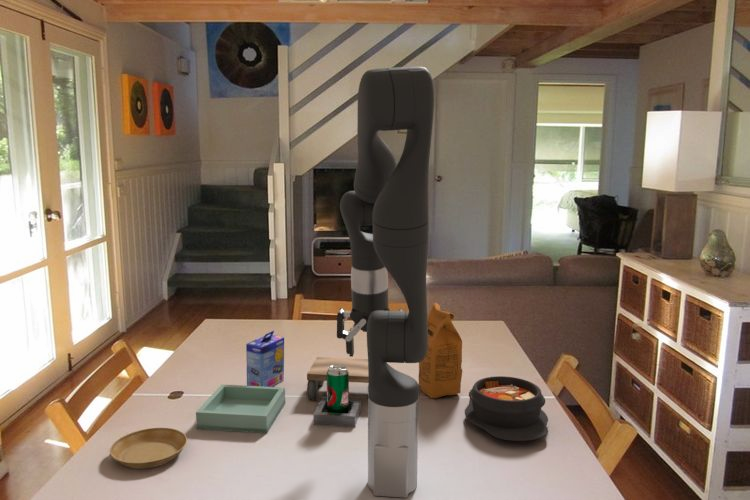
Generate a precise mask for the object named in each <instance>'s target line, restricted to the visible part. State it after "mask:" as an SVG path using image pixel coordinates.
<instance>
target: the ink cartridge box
mask: <svg viewBox="0 0 750 500" xmlns="http://www.w3.org/2000/svg"><path fill="white" fill-rule="evenodd" d="M274 332H275V330H272V331H270V332H268V333H265V335H263V336H261V337H260V338H257V339H253V340H252V341H249V342H247V343H246V344H245V346H246V351H245V352H246V359H245V360H246V386H263V387H275V386H276V385H278V384H280V383H282V382H284V380H285V337H284V336H280V335H276V334H274Z"/></svg>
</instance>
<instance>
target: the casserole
mask: <svg viewBox="0 0 750 500" xmlns="http://www.w3.org/2000/svg"><path fill="white" fill-rule="evenodd" d="M468 397H469V399H468V400H469V401H468V404H467V406H466V408H465V409H464V415H465V417H466V419H467V420H468V421H469V422H470V423H472V424H473V425H475V426H476V427H478V428H481V429H483V430H484V431H486V432H487V433H488V434H490V435H491V436H493V437H494V438H496V439H497V440H502V441H504V440H505V441H509V442H510V441H511V442H527V441H535V440H540V439H542V438H544V437H546V436H547V434H548V433H547V431H548V430H547V425H548V422H549V418H548V416H547V415H548V414H547V413H546V412H545V411H544V410H543V409H542V408H543V407H544V406H545V405H546V404H545V403H546V398H545V397H544V395H543V394H542V390H541V388H540V387H539V386H538V385H537V384H535V383H533V382H531V381H529V380H526V379H522V378H520V377H514V376H512V377H511V376H497V375H496V376H490V377H489V376H488V377H484V378H481V379H478V380H476V381H475V382H474V384H473V386H472V388H471V389H470V391H469V392H468Z"/></svg>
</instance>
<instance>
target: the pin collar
mask: <svg viewBox="0 0 750 500" xmlns="http://www.w3.org/2000/svg"><path fill="white" fill-rule="evenodd" d="M361 403H362V399H358V398H357V399H356V398H349V414H347V413H329V412H327V397H321V398H320V401H319V402H318V404H317V407H316V409H315V411H314V413H313V425H314V426H331V427H345V428H356V425H357V422H358V419H359V416H360V414H361V411H362V409H361V408H362V405H361Z"/></svg>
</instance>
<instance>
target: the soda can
mask: <svg viewBox="0 0 750 500" xmlns="http://www.w3.org/2000/svg"><path fill="white" fill-rule="evenodd" d="M349 384H350V382H349V371H348V370H347V367H346V366H344V365H332V366H329V367H328V371H327V381H326V398H327V410H326V412H329V413H347V414H350V411H349V399H350V396H349V395H350V393H349V392H350V391H349V390H350V387H349V386H350V385H349Z"/></svg>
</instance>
